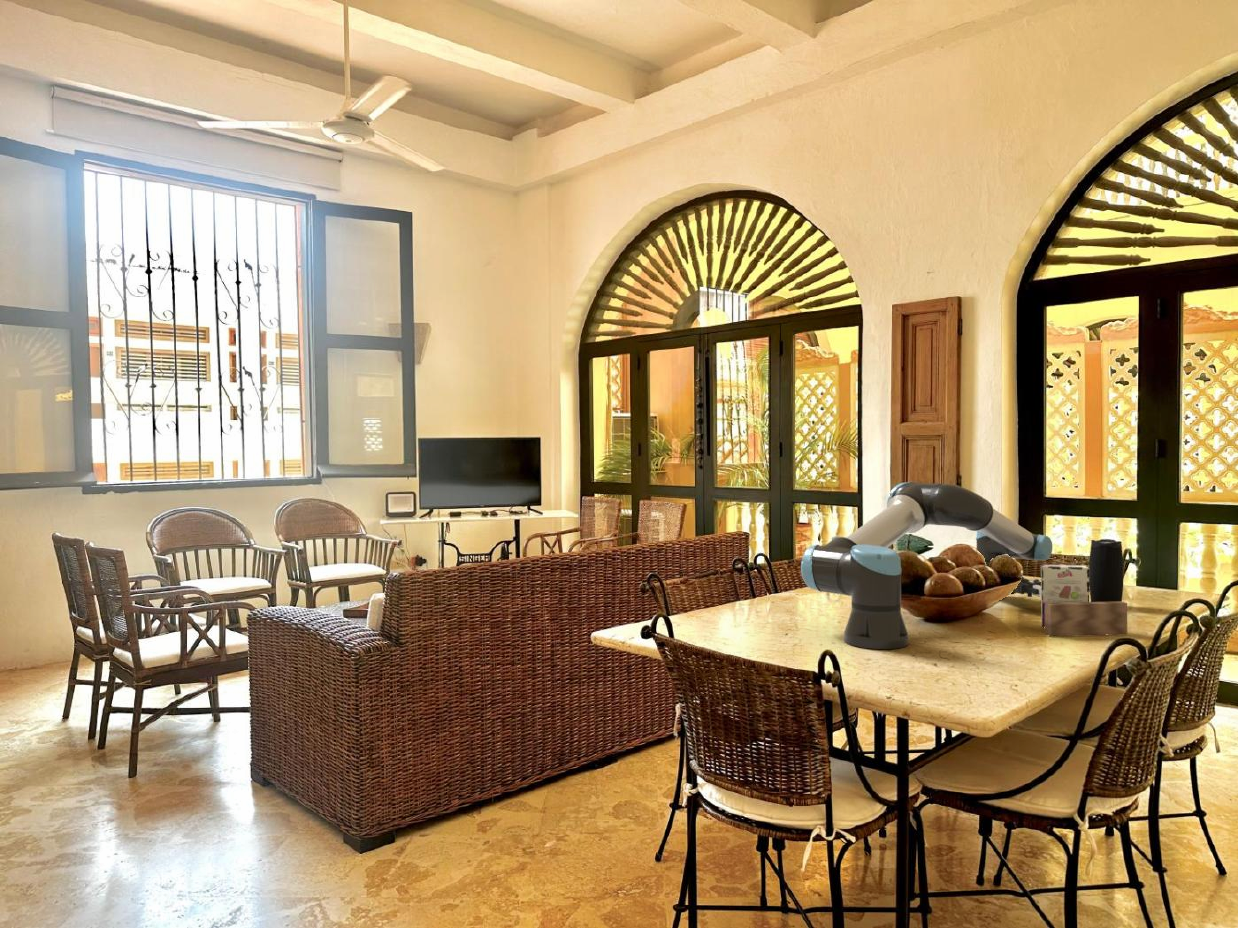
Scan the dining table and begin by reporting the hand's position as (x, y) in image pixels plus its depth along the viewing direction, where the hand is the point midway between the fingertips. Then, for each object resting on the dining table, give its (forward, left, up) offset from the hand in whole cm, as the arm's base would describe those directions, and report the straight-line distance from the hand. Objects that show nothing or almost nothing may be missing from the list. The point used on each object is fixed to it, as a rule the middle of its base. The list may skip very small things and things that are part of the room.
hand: (1048, 594), depth 236 cm
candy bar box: (-1, -10, -7) cm, 12 cm away
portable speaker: (+27, +15, -7) cm, 32 cm away
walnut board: (0, -18, -7) cm, 19 cm away
